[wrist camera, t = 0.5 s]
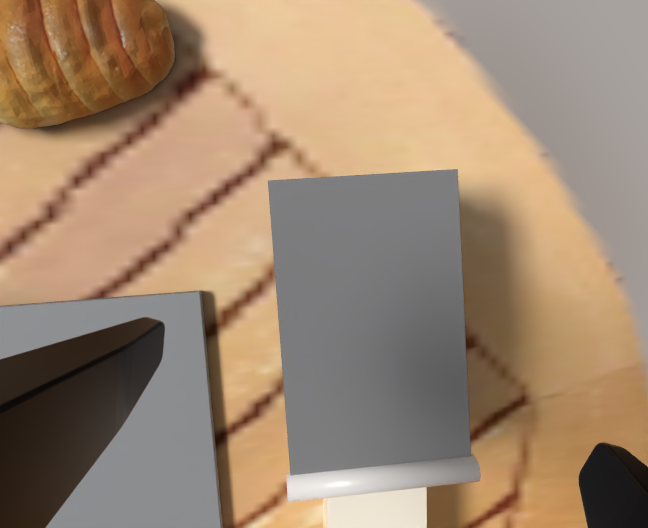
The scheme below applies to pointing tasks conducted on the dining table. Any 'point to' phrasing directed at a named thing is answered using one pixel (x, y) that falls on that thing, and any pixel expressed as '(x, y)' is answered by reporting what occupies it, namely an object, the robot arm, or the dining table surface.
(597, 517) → the robot arm
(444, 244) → the block
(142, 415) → the mat
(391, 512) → the white block
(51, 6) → the pastry
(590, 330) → the dining table surface
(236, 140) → the dining table surface
